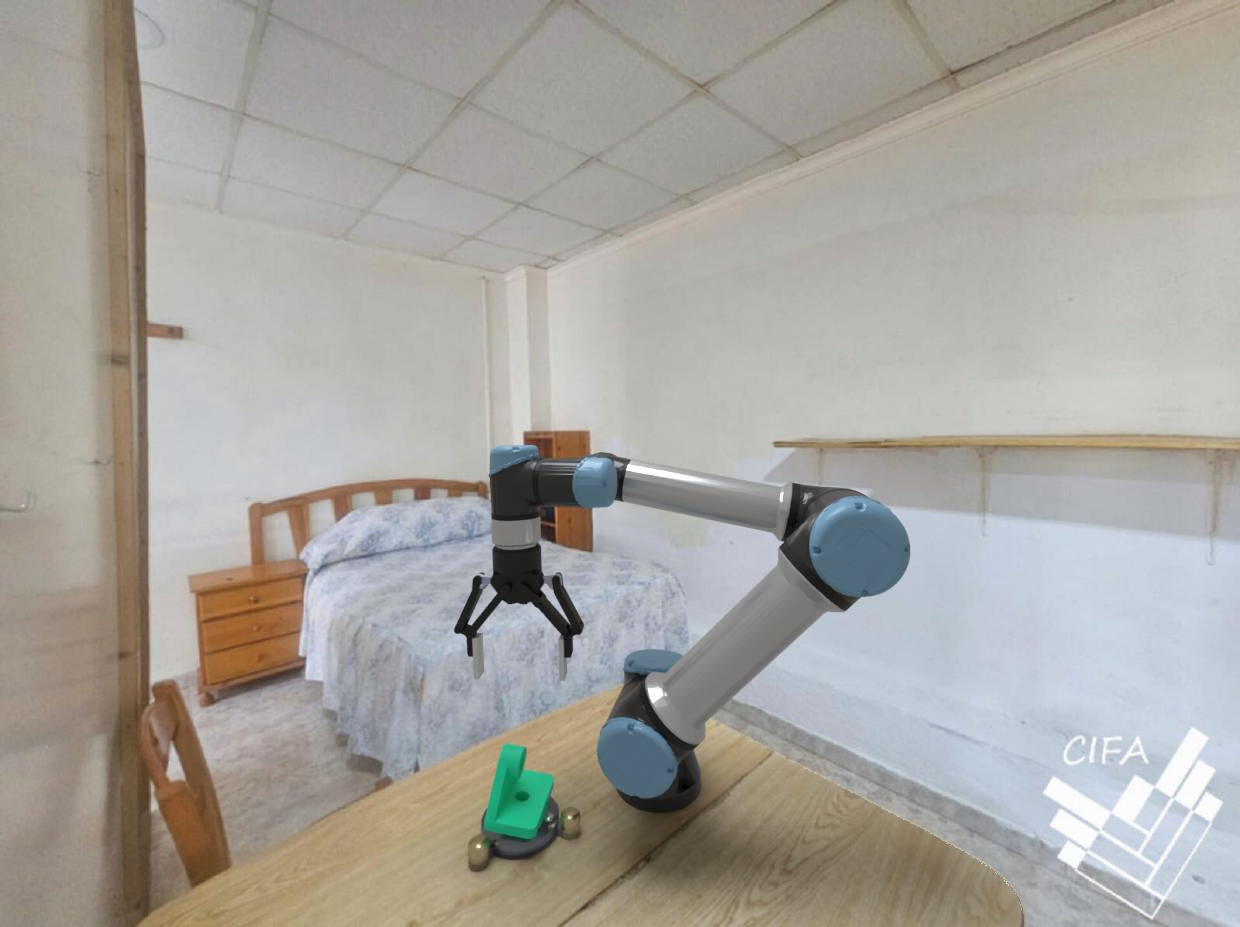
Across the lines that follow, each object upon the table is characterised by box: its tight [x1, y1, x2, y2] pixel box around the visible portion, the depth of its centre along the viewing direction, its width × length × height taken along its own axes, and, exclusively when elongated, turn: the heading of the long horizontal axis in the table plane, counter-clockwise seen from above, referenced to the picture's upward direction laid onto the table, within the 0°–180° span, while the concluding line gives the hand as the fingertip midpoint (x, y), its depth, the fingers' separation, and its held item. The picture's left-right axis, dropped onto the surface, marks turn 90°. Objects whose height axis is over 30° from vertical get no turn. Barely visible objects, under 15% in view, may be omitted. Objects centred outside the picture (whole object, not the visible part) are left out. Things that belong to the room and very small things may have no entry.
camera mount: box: [484, 742, 555, 839], centre depth 81 cm, size 12×8×10 cm, turn 173°
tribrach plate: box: [467, 795, 581, 872], centre depth 81 cm, size 16×17×3 cm
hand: (521, 676), depth 82 cm, fingers open, 13 cm apart
